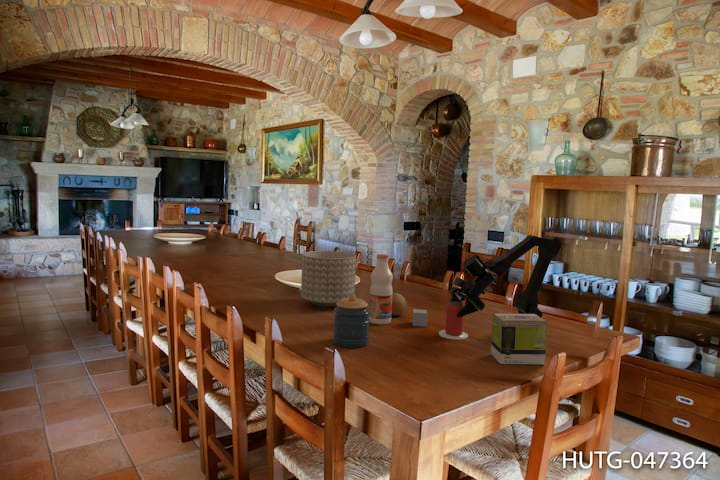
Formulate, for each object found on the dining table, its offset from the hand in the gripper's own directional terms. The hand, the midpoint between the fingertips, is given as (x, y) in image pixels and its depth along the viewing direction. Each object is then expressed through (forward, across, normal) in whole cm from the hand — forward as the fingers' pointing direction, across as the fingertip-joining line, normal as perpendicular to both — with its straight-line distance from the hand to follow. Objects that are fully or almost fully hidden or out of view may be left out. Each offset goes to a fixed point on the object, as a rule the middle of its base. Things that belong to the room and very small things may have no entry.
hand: (451, 313), depth 180 cm
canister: (+34, +2, -22) cm, 41 cm away
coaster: (+5, 0, +7) cm, 9 cm away
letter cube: (+10, -16, +2) cm, 19 cm away
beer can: (+5, 0, +7) cm, 8 cm away
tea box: (-1, +28, +14) cm, 31 cm away
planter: (+33, -53, -20) cm, 65 cm away
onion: (+15, -30, -2) cm, 34 cm away
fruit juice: (+21, -22, -9) cm, 32 cm away
